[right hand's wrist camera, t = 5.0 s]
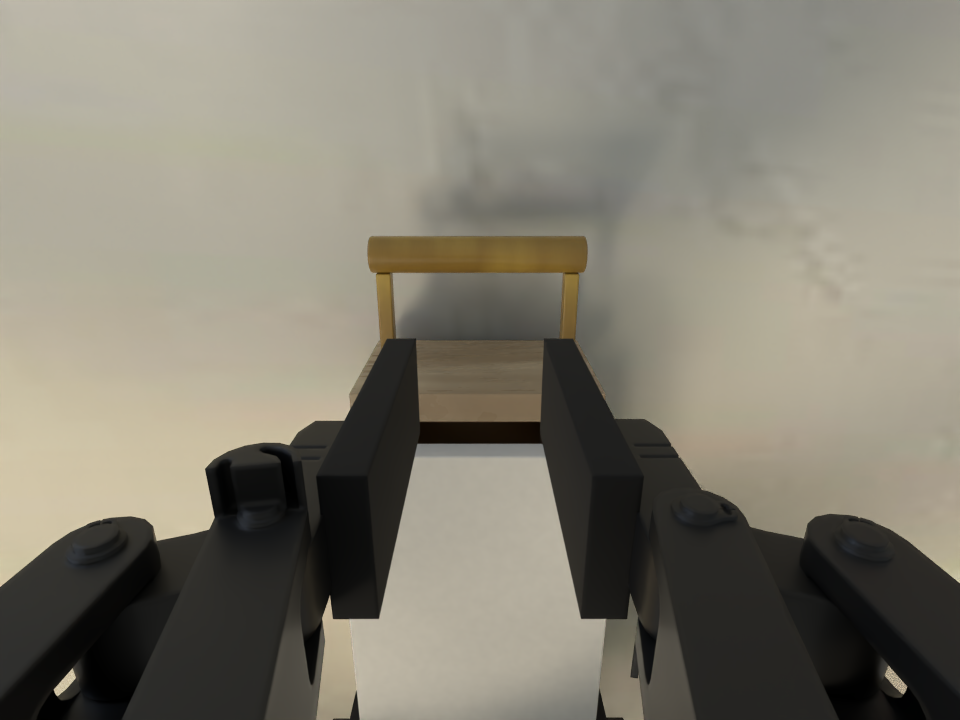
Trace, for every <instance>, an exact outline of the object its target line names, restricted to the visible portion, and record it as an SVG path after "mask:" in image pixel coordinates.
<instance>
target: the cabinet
mask: <svg viewBox="0 0 960 720" xmlns="http://www.w3.org/2000/svg"><path fill="white" fill-rule="evenodd" d="M349 623H350V632H351V641H352V651H353V660H354V669H355V679H356V688H357V698H358V707H359V716H360V720H596V715H597V706H598V696H599V686H600V676H601V667H602V657H603V647H604V637H605V628H606V619H581V617H580V612H579V608H578V603H577V599H576V594H575V590H574V585H573V580H572V576H571V571H570V567H569V562H568V558H567V553H566V549H565V544H564V539H563V535H562V530H561V526H560V521H559V517H558V512H557V508H556V503H555V498H554V494H553V489H552V485H551V480H550V476H549V471H548V467H547V462H546V457H545V453H544V448H543V444H417V448H416V453H415V457H414V462H413V466H412V471H411V476H410V480H409V485H408V489H407V494H406V498H405V503H404V507H403V512H402V517H401V521H400V526H399V530H398V535H397V539H396V544H395V548H394V553H393V558H392V562H391V567H390V571H389V576H388V580H387V585H386V589H385V594H384V599H383V603H382V608H381V612H380V617H379V619H349Z"/></svg>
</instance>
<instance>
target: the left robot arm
mask: <svg viewBox="0 0 960 720" xmlns="http://www.w3.org/2000/svg"><path fill="white" fill-rule="evenodd" d="M333 720H360V716H359V707H358V698H357V690H356V694H355V699H354V703H353V708H352V712H351V716H350V719H333ZM596 720H624V719H623V718H606V715H605V711H604V706H603V702H602V698H601V693H600V689H599V696H598V706H597V715H596Z"/></svg>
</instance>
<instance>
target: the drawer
mask: <svg viewBox="0 0 960 720" xmlns="http://www.w3.org/2000/svg"><path fill="white" fill-rule="evenodd" d="M587 254H588V249H587V241H586V238H585V237H584V236H371V237H370V238H369V241H368V264H369V268H370V271H371V272H372V273H377V274H376V283H377V298H378V313H379V328H380V341H379V342H378V344H377V345H376V347H375V349H374V351H373V353H372V354H371V356H370V358H369V360H368V362H367V363H366V365H365V367H364V369H363V371H362V372H361V374H360V376H359V378H358V379H357V381H356V383H355V385H354V387H353V388H352V390H351V392H350V394H349V396H350V407H352V405H353V403H354V401H355V400H356V398H357V396H358V394H359V392H360V390H361V388H362V386H363V384H364V382H365V380H366V378H367V376H368V374H369V372H370V371H371V369H372V367H373V365H374V363H375V361H376V359H377V357H378V355H379V353H380V351H381V349H382V347H383V345H384V343H385V342H386V340H387V339H396V329H395V311H394V293H393V276H392V273H563V281H562V300H561V319H560V338H559V339H573V340H574V342H575V343H576V345H577V347H578V349H579V351H580V353H581V355H582V357H583V359H584V361H585V363H586V365H587V367H588V369H589V371H590V372H591V374H592V376H593V378H594V380H595V382H596V384H597V386H598V388H599V390H600V392H601V394H602V396H603V398H604V400H605V395H606V394H605V392H604V390H603V388H602V387H601V385H600V383H599V381H598V379H597V377H596V375H595V374H594V372H593V370H592V368H591V366H590V364H589V362H588V360H587V359H586V357H585V355H584V353H583V351H582V349H581V347H580V346H579V344H578V342H577V341H576V340H575V334H576V318H577V302H578V286H579V274H578V273H583V272H584V271H585V269H586V264H587ZM416 348H417V372H418V395H419V419H420V435H419V439H418V444H542V439H541V435H540V419H541V395H542V372H543V348H544V340H416Z"/></svg>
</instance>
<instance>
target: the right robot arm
mask: <svg viewBox="0 0 960 720" xmlns="http://www.w3.org/2000/svg"><path fill="white" fill-rule="evenodd" d="M419 435H420V419H419V395H418V372H417V348H416V339H387V340H386V342H385V343H384V345H383V347H382V349H381V351H380V353H379V355H378V357H377V359H376V361H375V363H374V365H373V367H372V369H371V371H370V372H369V374H368V376H367V378H366V380H365V382H364V384H363V386H362V388H361V390H360V392H359V394H358V396H357V398H356V400H355V401H354V403H353V405H352V407H351V409H350V411H349V413H348V415H347V417H346V419H345V421H315V422H313V423H312V424H310V425H309V426H307V427H306V428H304V429H303V430H301V431H300V432H298V434H297V435H296V437H295V438H294V440H293V441H292V443H291V444H290V446H289V445H285V444H281V443H259V444H253V445H247V446H243V447H240V448H237V449H234V450H231V451H228V452H226V453H225V454H223V455H221V456H219V457H218V458H216V459H214V460H213V461H212V462H211V463H210V464H209V465H208V466H207V468H206V469H205V471H206V476H207V481H208V486H209V491H210V496H211V501H212V506H213V511H214V516H215V519H214V521H213V523H212V525H211V527H210V529H209V530H206V531H202V532H199V533H195V534H190V535H185V536H180V537H175V538H170V539H165V540H160V541H156V537H155V533H154V529H153V526H152V525H151V524H150V523H149V522H148V521H146V520H145V519H141V518H136V517H131V516H130V517H116V518H108V519H103V520H102V521H100V520H99V521H95V522H92V523H89V524H87V525H86V526H84V527H81V528H79V529H77V530H75V531H72V532H70V533H69V534H67V535H66V536H64V537H63V538H61V539H60V540H58V541H56V542H55V543H53V544H52V545H51V546H50V547H48V548H47V549H46V550H45V551H44V552H42V553H41V554H40V555H39V556H38V557H36V558H35V559H34V560H33V561H31V562H30V563H29V564H28V565H27V566H25V567H24V568H23V569H22V570H21V571H19V572H18V573H17V574H16V575H14V576H13V577H12V578H11V579H10V580H8V581H7V582H6V583H5V584H3V585H2V586H1V587H0V720H316V715H317V706H318V698H319V689H320V680H321V671H322V663H323V654H324V645H325V638H324V630H323V622H322V616H323V613H324V611H325V608H326V605H327V602H328V599H329V596H330V598H331V606H332V614H333V619H379V617H380V612H381V608H382V603H383V599H384V594H385V589H386V585H387V580H388V576H389V571H390V567H391V562H392V558H393V553H394V548H395V544H396V539H397V535H398V530H399V526H400V521H401V517H402V512H403V507H404V503H405V498H406V494H407V489H408V485H409V480H410V476H411V471H412V466H413V462H414V457H415V453H416V448H417V444H418V439H419ZM540 435H541V439H542V444H543V448H544V453H545V457H546V462H547V467H548V471H549V476H550V480H551V485H552V489H553V494H554V498H555V503H556V508H557V512H558V517H559V521H560V526H561V530H562V535H563V539H564V544H565V549H566V553H567V558H568V562H569V567H570V571H571V576H572V580H573V585H574V590H575V594H576V599H577V603H578V608H579V612H580V617H581V619H627V614H628V606H629V598H630V593H631V596H632V599H633V602H634V605H635V608H636V611H637V614H638V622H637V630H636V638H635V646H634V653H633V661H632V669H631V676H630V677H632V678H638V673H639V679H640V688H641V696H642V705H643V714H644V720H960V583H959V582H957V581H956V580H955V579H954V578H952V577H951V576H950V575H949V574H948V573H946V572H945V571H944V570H943V569H941V568H940V567H939V566H938V565H936V564H935V563H934V562H933V561H932V560H930V559H929V558H928V557H927V556H925V555H924V554H923V553H922V552H921V551H919V550H918V549H917V548H916V547H914V546H913V545H912V544H911V543H909V542H908V541H907V540H905V539H904V538H902V537H901V536H899V535H898V534H896V533H895V532H893V531H891V530H890V529H888V528H885V527H883V526H881V525H878V524H876V523H874V522H873V521H870V520H867V519H864V518H858V517H856V516H850V515H837V514H827V515H822V516H817V517H815V518H814V519H812V520H811V521H810V522H809V523H808V525H807V529H806V533H805V537H804V539H802V538H797V537H792V536H787V535H782V534H777V533H772V532H767V531H763V530H759V529H755V528H752V527H750V526H749V524H748V522H747V520H746V518H745V516H744V515H743V514H742V512H741V511H740V510H739V509H738V507H737V506H735V505H734V504H732V503H731V502H729V501H728V500H726V499H725V498H723V497H721V496H718V495H716V494H713V493H711V492H708V491H704V490H701V488H700V487H699V485H698V484H697V482H696V481H695V479H694V478H693V476H692V475H691V473H690V472H689V470H688V469H687V467H686V466H685V464H684V463H683V461H682V460H681V458H679V457H678V454H677V452H676V451H675V449H674V448H673V447H671V443H670V442H669V440H668V439H667V437H666V436H665V434H664V433H663V431H662V430H660V429H659V428H657V427H656V426H654V425H653V424H651V423H650V422H648V421H647V420H645V419H614V417H613V415H612V413H611V411H610V409H609V407H608V405H607V403H606V401H605V400H604V398H603V396H602V394H601V392H600V390H599V388H598V386H597V384H596V382H595V380H594V378H593V376H592V374H591V372H590V371H589V369H588V367H587V365H586V363H585V361H584V359H583V357H582V355H581V353H580V351H579V349H578V347H577V345H576V343H575V342H574V340H573V339H544V348H543V372H542V395H541V419H540ZM888 665H889V666H890V667H891V669H892V670H893V671H894V672H895V673H896V674H897V675H898V676H899V678H900V679H901V680H902V681H903V682H904V683H905V684H906V685H907V690H906V692H905V693H904V695H903V694H901V693H900V692H899V691H898V690H897V689H896V688H895V687H894V686H893V685H892V684H891V683H890V682H889V680H888V679H887V678H886V677H885V673H886V670H887V667H888ZM72 668H73V670H74V673H75V676H76V679H75V680H74V681H73V682H72V684H71V685H70V686H69V687H68V688H67V689H66V690H65V691H64V692H63V693H61V694H60V695H59V696H58V697H57V696H56V695H55V692H54V688H55V687H56V686H57V685H58V684H59V683H60V682H61V680H62V679H63V678H64V677H65V676H66V675H67V674H68V673H69V671H70V670H71V669H72Z"/></svg>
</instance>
